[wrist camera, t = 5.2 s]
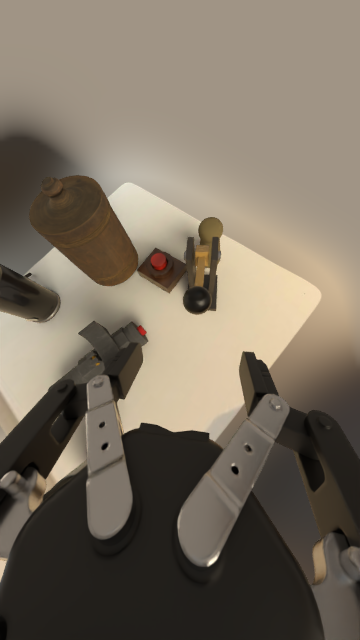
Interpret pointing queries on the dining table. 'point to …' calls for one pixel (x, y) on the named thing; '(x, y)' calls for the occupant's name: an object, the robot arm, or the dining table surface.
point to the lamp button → (159, 261)
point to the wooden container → (84, 228)
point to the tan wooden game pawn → (210, 233)
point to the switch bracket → (210, 279)
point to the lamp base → (163, 271)
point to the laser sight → (103, 350)
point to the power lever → (198, 285)
